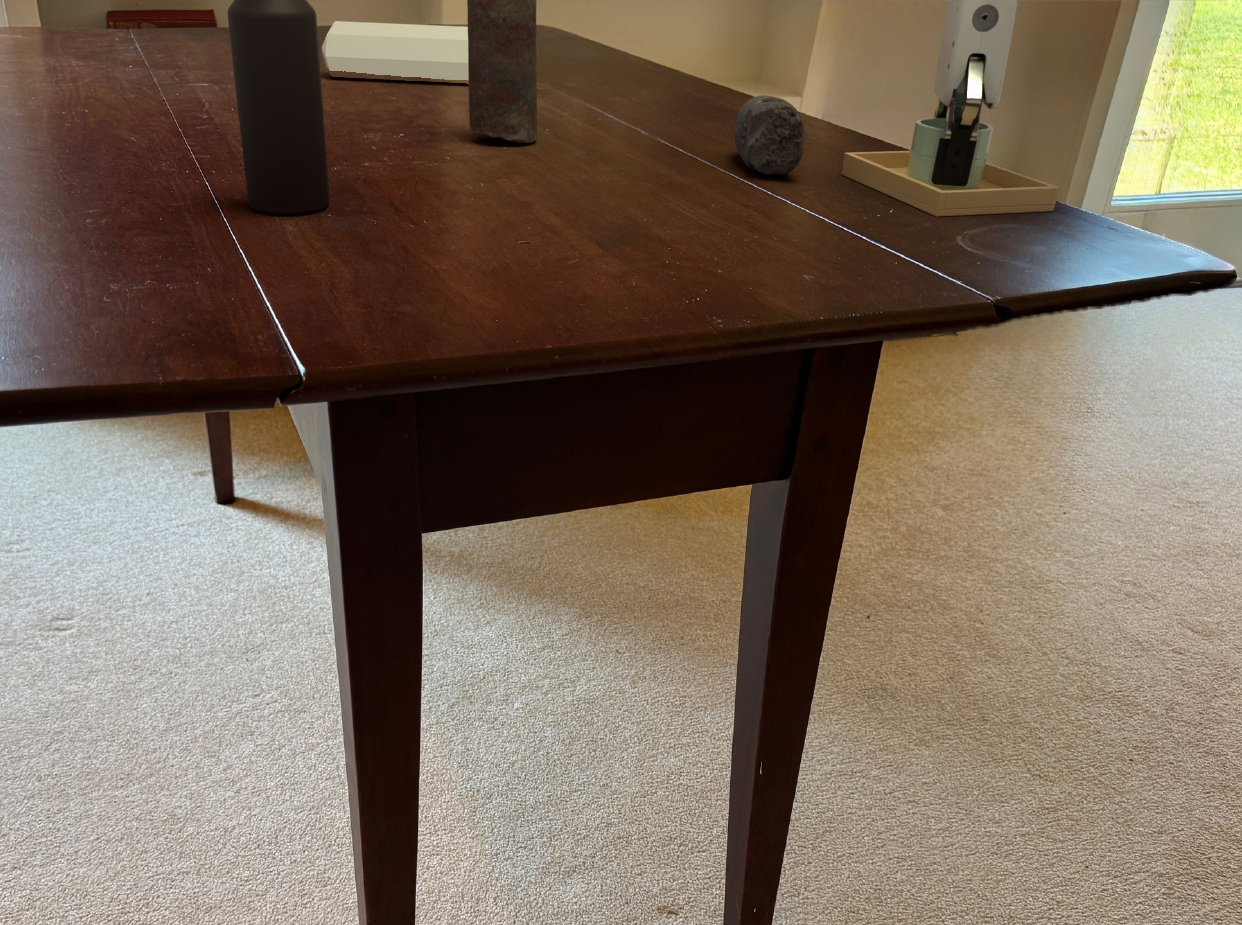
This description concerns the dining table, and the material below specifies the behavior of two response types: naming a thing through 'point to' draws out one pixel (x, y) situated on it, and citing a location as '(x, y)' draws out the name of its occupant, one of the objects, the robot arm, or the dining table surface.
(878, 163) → the serving tray
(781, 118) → the perforated stone tool
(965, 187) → the mint green planter pot
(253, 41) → the bottle
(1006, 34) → the robot arm
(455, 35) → the white chamfered bar
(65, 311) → the dining table surface
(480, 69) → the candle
